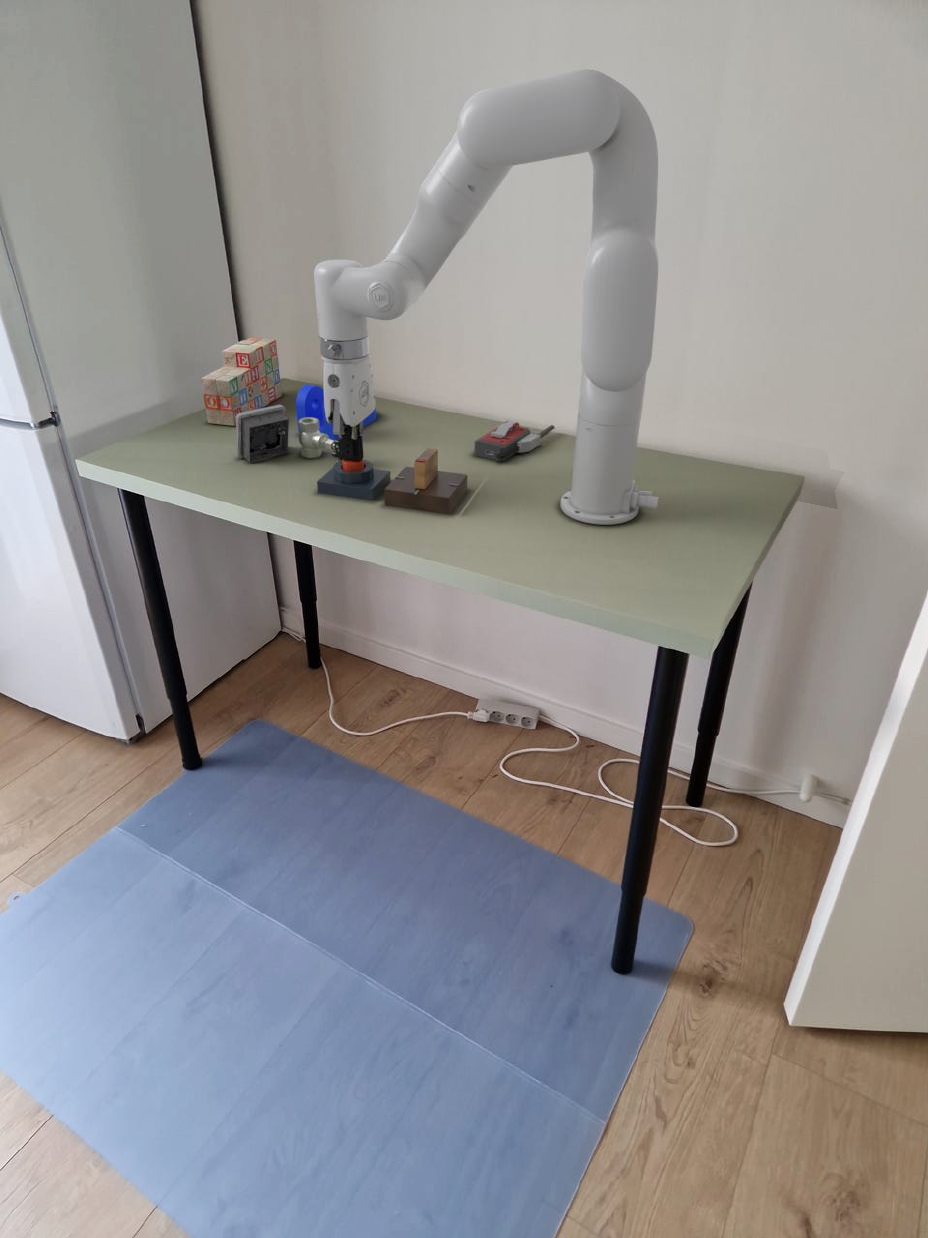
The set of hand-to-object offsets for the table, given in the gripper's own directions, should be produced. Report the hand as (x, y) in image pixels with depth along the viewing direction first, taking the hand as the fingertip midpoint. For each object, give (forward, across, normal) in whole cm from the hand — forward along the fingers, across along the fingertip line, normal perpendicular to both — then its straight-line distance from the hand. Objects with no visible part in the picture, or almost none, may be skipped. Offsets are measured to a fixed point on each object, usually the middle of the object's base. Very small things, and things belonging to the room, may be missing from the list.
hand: (352, 459), depth 135 cm
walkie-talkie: (+6, +28, -21) cm, 35 cm away
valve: (+5, +10, +10) cm, 15 cm away
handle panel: (+5, 0, -13) cm, 14 cm away
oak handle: (+2, 0, -13) cm, 13 cm away
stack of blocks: (+5, +30, +38) cm, 49 cm away
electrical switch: (+5, +8, +21) cm, 23 cm away
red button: (+2, 0, 0) cm, 2 cm away
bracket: (+5, +28, +15) cm, 32 cm away
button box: (+5, 0, 0) cm, 5 cm away
